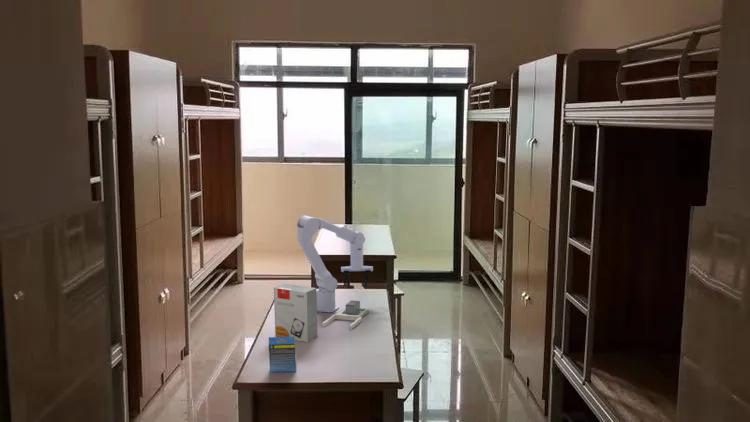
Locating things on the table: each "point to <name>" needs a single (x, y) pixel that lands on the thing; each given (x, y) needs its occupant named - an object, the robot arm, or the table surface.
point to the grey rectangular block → (353, 308)
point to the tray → (362, 313)
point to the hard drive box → (295, 312)
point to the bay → (344, 317)
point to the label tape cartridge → (282, 354)
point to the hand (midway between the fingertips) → (357, 286)
